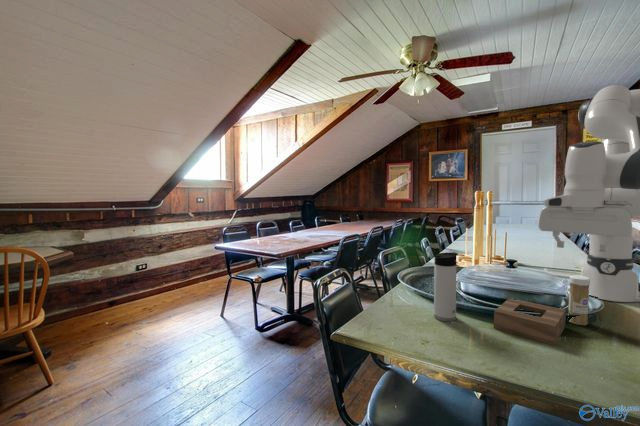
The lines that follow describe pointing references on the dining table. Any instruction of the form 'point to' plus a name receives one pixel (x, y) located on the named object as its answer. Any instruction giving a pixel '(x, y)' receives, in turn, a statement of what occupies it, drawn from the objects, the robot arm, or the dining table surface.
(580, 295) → the sprinkles bottle
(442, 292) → the travel mug
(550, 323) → the walnut socket block
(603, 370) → the dining table surface
